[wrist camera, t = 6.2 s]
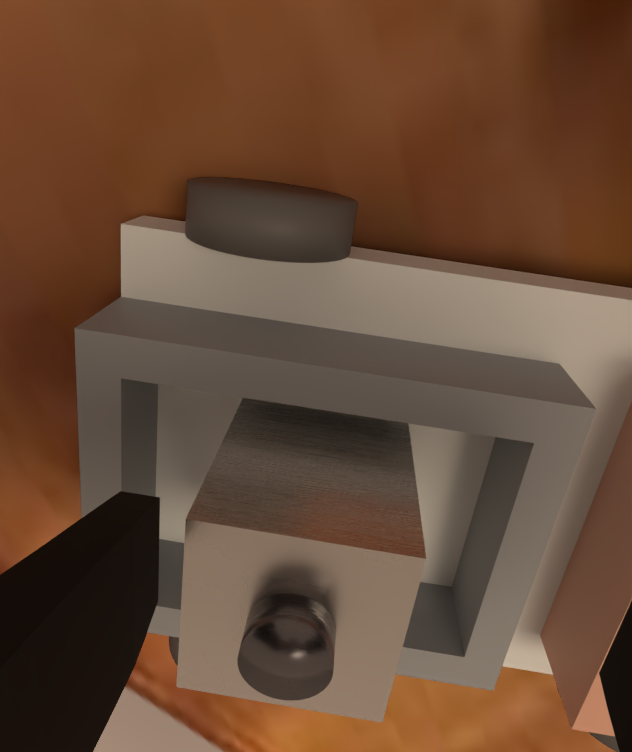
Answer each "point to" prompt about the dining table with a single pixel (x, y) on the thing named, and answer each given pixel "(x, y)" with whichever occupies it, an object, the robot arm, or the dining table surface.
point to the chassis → (385, 415)
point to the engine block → (302, 561)
